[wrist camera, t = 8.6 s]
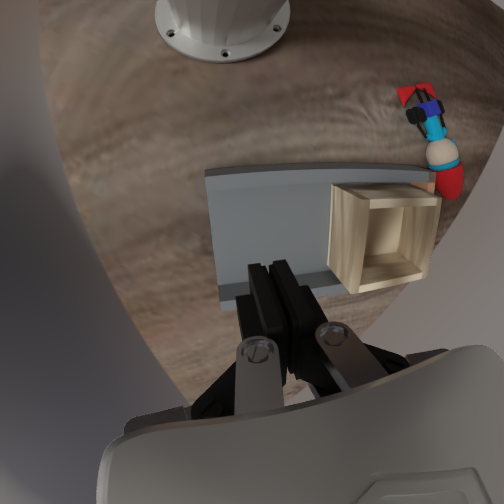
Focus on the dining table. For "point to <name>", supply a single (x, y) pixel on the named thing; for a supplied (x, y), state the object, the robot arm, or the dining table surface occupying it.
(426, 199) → the crate
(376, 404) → the robot arm
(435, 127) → the toy figure
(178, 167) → the dining table surface
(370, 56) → the dining table surface
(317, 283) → the rail bay
